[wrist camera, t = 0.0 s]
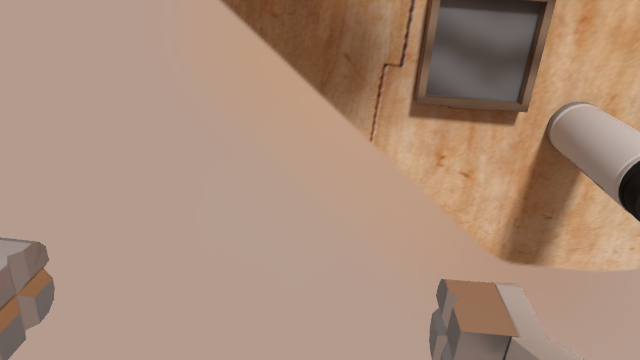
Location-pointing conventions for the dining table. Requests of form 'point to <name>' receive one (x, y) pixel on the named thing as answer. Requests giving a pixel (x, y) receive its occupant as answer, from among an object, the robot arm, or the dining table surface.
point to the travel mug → (600, 150)
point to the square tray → (482, 53)
